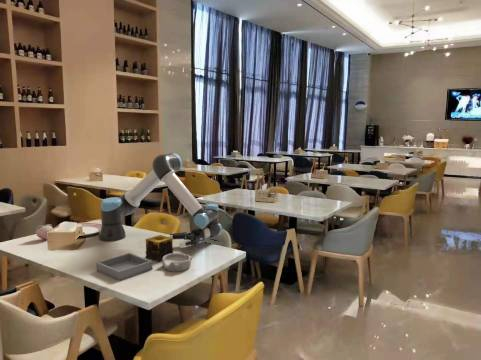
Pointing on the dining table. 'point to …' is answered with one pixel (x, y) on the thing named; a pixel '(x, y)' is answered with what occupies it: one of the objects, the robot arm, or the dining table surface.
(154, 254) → the candle
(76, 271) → the dining table surface
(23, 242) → the dining table surface
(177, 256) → the dish
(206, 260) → the dining table surface
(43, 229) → the decorative fruit
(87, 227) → the dinner plate
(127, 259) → the tray
